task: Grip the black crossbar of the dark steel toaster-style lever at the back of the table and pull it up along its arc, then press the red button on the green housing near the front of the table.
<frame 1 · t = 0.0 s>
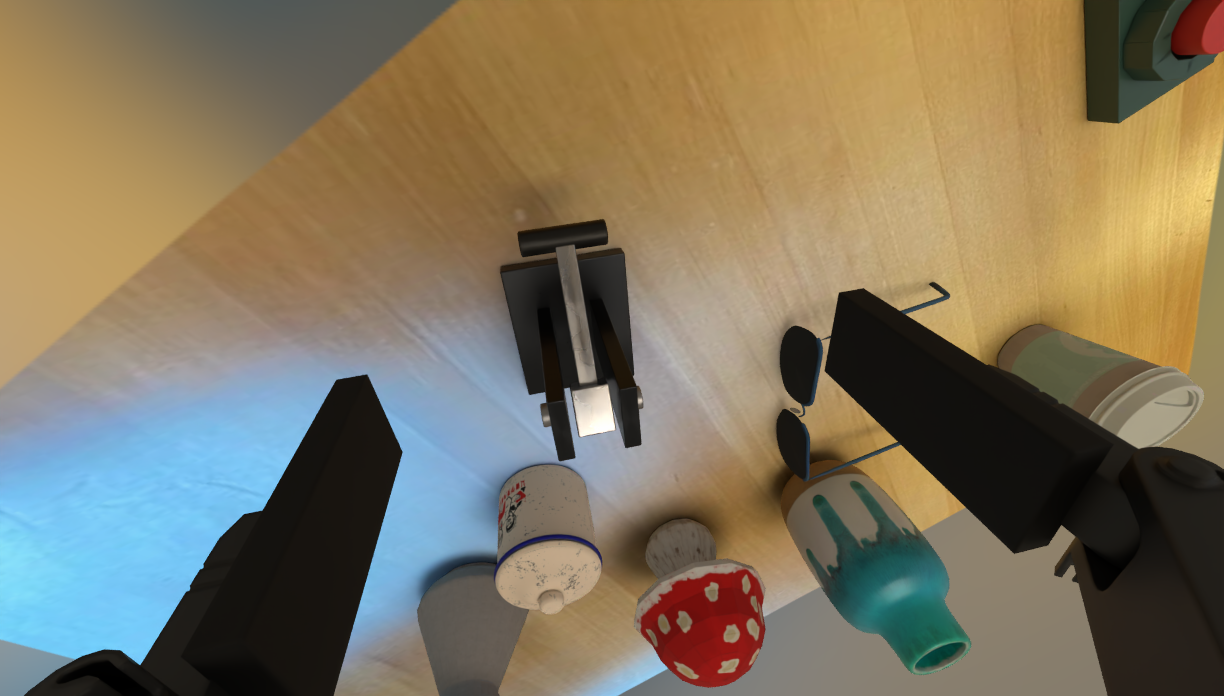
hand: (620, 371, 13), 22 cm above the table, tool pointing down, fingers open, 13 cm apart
sunglasses: (846, 374, 46), on the table
button housing: (1133, 26, 33), on the table
button: (1213, 21, 29), point 5 cm above the table, slide at 0.2 cm
coffee cup: (1021, 347, 49), on the table
decorative mushroom: (675, 535, 54), on the table
teacup with lid: (540, 502, 47), on the table
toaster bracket: (571, 321, 37), on the table
lever: (578, 329, 27), point 9 cm above the table, hinge at -25.0°
vase: (809, 477, 53), on the table
coffee pot: (502, 600, 54), on the table
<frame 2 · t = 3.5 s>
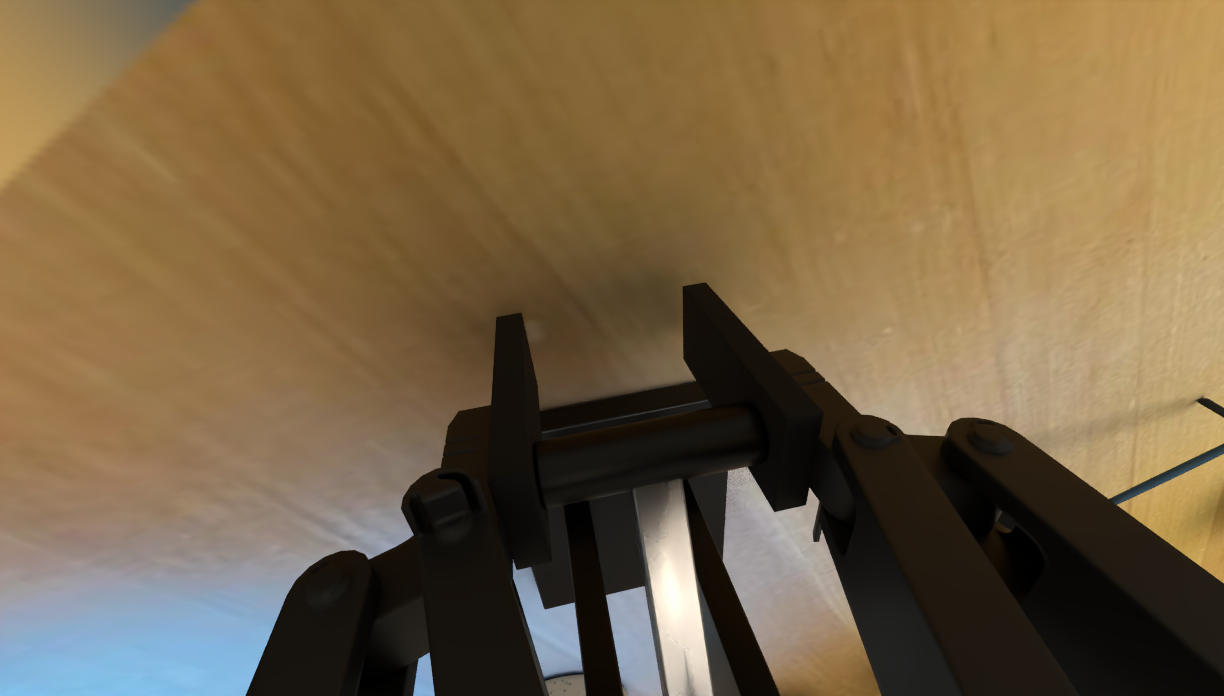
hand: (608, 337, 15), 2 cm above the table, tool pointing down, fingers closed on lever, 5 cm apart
sunglasses: (1032, 524, 30), on the table
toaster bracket: (621, 493, 21), on the table
lever: (683, 666, 11), point 9 cm above the table, hinge at -25.0°, touching gripper
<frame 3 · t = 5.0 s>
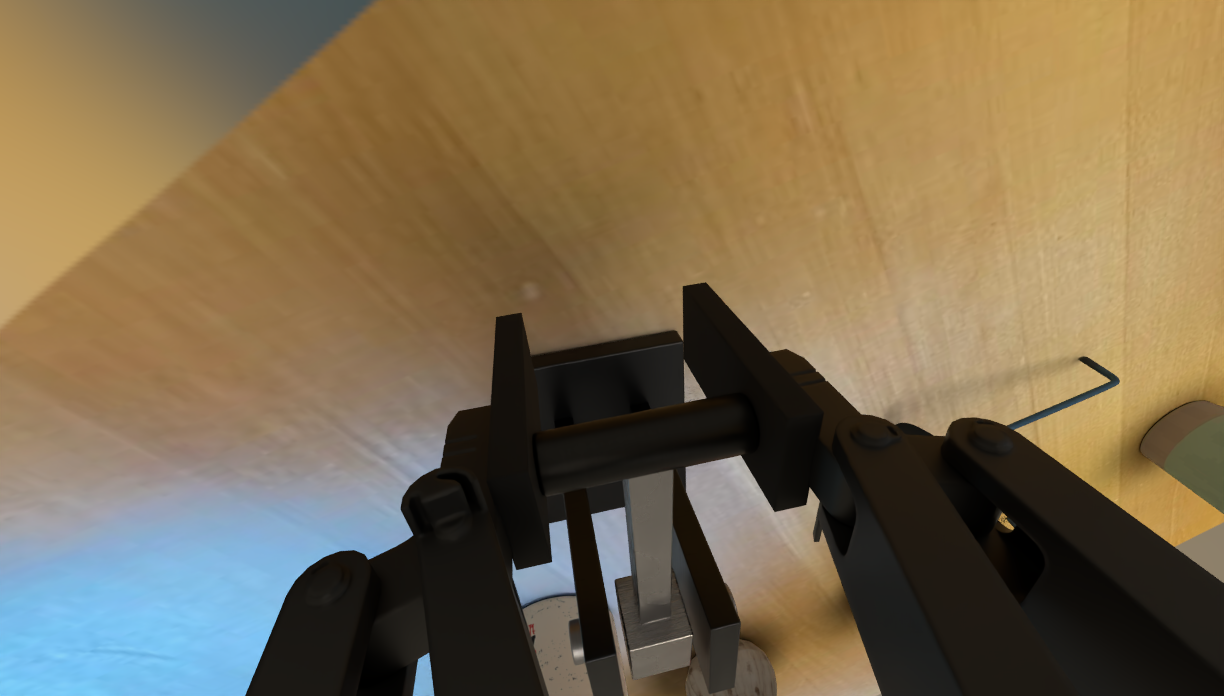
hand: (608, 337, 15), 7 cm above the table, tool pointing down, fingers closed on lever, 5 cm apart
sunglasses: (954, 469, 35), on the table
coffee cup: (1171, 427, 38), on the table
decorative mushroom: (720, 655, 43), on the table
teacup with lid: (553, 636, 36), on the table
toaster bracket: (602, 427, 26), on the table
lever: (650, 558, 14), point 12 cm above the table, hinge at 6.9°, touching gripper
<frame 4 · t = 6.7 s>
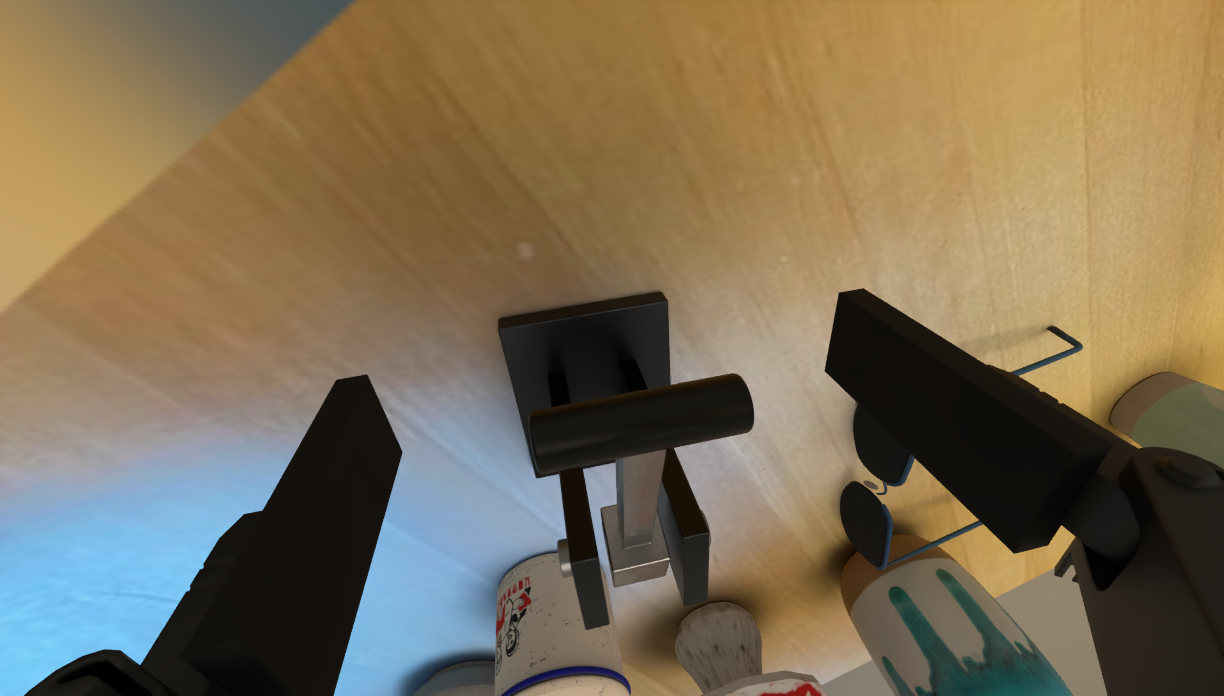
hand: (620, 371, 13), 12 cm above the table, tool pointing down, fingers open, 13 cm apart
sunglasses: (931, 435, 37), on the table
coffee cup: (1140, 398, 39), on the table
decorative mushroom: (709, 618, 45), on the table
teacup with lid: (548, 593, 38), on the table
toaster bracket: (593, 385, 28), on the table
lever: (636, 502, 15), point 13 cm above the table, hinge at 20.6°
vase: (871, 550, 44), on the table
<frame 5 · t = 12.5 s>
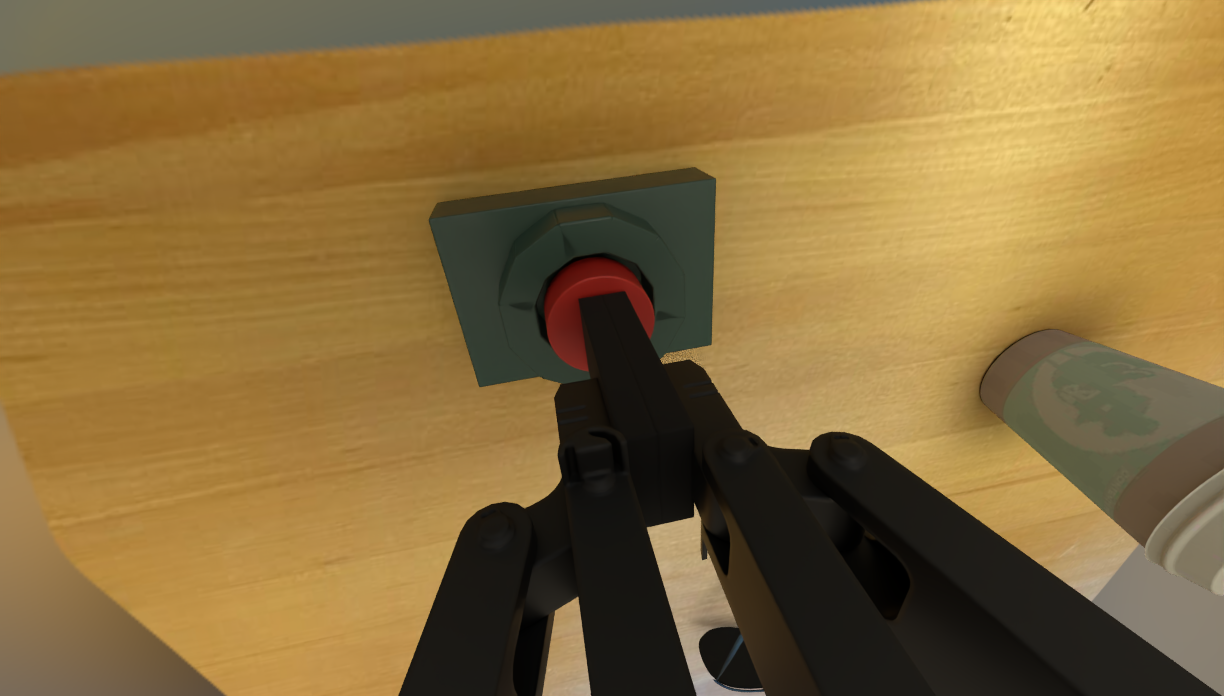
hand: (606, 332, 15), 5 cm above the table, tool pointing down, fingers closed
sunglasses: (820, 571, 36), on the table
button housing: (581, 269, 20), on the table
button: (597, 315, 16), point 4 cm above the table, slide at -0.1 cm, touching gripper
coffee cup: (1021, 368, 28), on the table
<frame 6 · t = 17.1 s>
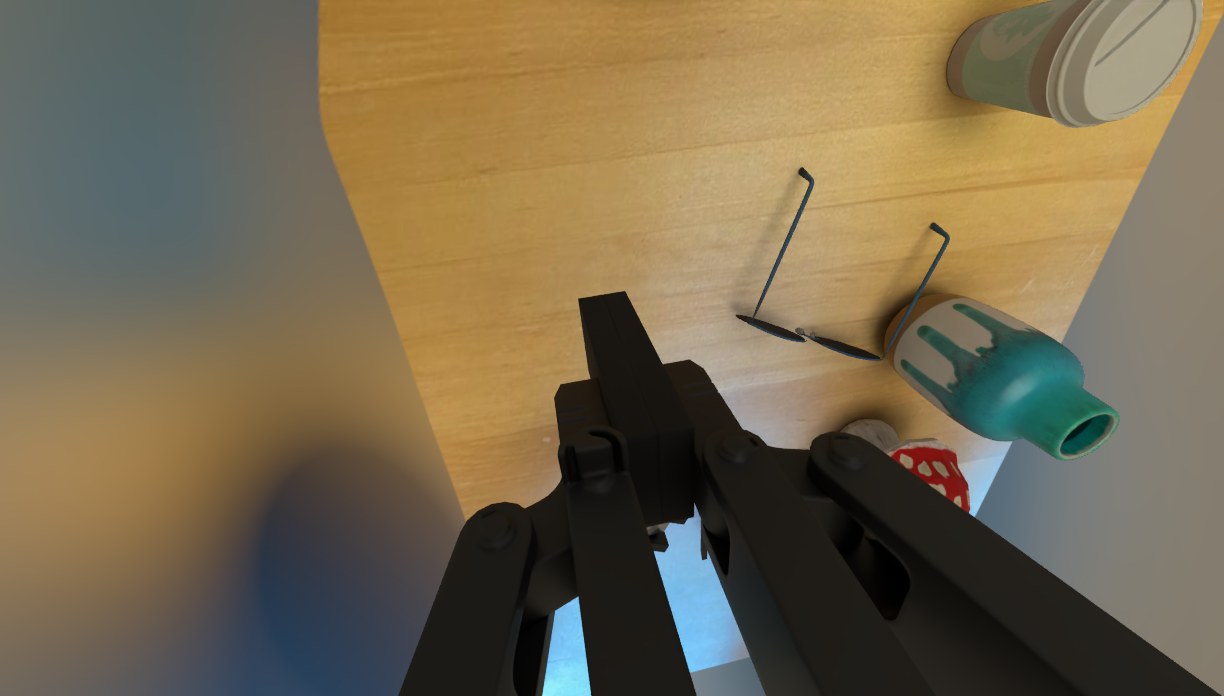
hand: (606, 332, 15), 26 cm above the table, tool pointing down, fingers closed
sunglasses: (828, 267, 47), on the table
coffee cup: (976, 58, 39), on the table
decorative mushroom: (854, 436, 61), on the table
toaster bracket: (626, 439, 53), on the table
lever: (613, 525, 41), point 13 cm above the table, hinge at 20.6°
vase: (909, 322, 53), on the table
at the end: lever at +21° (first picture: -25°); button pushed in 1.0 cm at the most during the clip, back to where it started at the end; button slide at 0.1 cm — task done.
